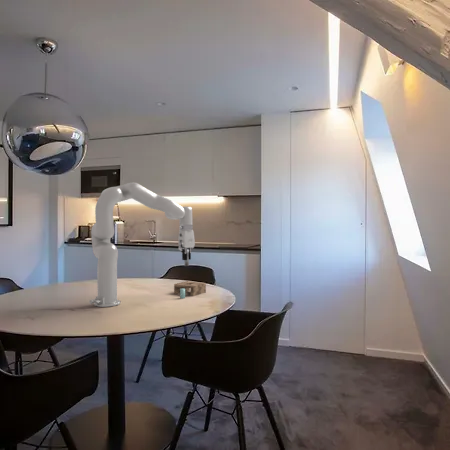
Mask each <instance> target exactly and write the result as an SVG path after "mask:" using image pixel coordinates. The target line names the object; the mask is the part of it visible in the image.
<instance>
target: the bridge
mask: <svg viewBox="0 0 450 450" xmlns="http://www.w3.org/2000/svg"><path fill="white" fill-rule="evenodd" d="M180 289H185V293H186V292H189V291H190V297H195V296H199V295H201V294H205V293H206V291H207V283H206V282H197V281H190V280H186V281H182V282H177V283H174V284H173V294H175V295H177V294H178V295H179V294H180Z"/></svg>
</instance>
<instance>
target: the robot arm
mask: <svg viewBox="0 0 450 450" xmlns="http://www.w3.org/2000/svg"><path fill="white" fill-rule="evenodd" d="M128 200H134V201H136V202H138V203H140V204H141V205H143V206H145V207H147V208H149V209H151V210H152V209H153V210H157V211H161V212H162V213H164V216H165V217H166V219H168V220H174V221H175V220H179V227H178V228H179V231H178V237H177V238H178V239H177V240H178V243H177V244H178V248H177V249H178V250H179V251H180V252H181V254H182V255H181V257H182V258H181V260H182V261H184V260H187V253H186V248H189V261H190V260H191V259H192V257H191V256H192V255H191V254H192V250H193V249H194V248H195V246H196V241H195V231H194V230H193V208H192V206H181V205H180V204H178V203H176V202H175V201H173V200H171V199H169V198H166V197H164V196H162V195H159V194H157V193H155V192H154V191H152V190H150V189H148V188H146V187H144V186H143V185H141V184H140V183H138V182H133V181H132V182H128V183H124V184H121V185H117V186H111V187H108V188H106V189H104V190H102V192H101V194H100V195H99V196H98V199H97V201H96V202H95V203H96V204H95V208H94V209H95V210H94V212H95V214H94V215H95V217H94V218H95V223H94V224H93V225H92V227H91V230H90V231H91V233H90V234H91V236H90V237H91V244H92V247H91V248H92V253H93V255H94V257H95V258H96V259H97V267H96V269H97V270H96V273H97V277H96V280H97V284H96V285H97V295H96V296H95V298H94V299H92V298H91V299H90V300H89V301H88V302H89V304H90V305H93V304H94V306H95V307H101V308H110V307H115V306H119V305H120V304H121V300H120V299H118V258H119V251H118V248H117V246H116V245H115V244H114V243H112V242H111V239H112V238H113V237H114V235H115V226H114V222H115V221H114V207H115V206H116V205H117V204H118V203H120V202H124V201H128Z"/></svg>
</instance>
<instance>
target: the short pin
mask: <svg viewBox="0 0 450 450" xmlns="http://www.w3.org/2000/svg"><path fill="white" fill-rule="evenodd" d="M179 294H180V295H179V298H180V299H182V300H184V299H186V292H185V289H180V293H179Z"/></svg>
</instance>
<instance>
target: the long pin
mask: <svg viewBox="0 0 450 450" xmlns="http://www.w3.org/2000/svg"><path fill="white" fill-rule="evenodd" d="M186 253H187V260H183V261H184V262H183V263H184V267H189V266H190V260H189V248H186Z"/></svg>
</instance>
